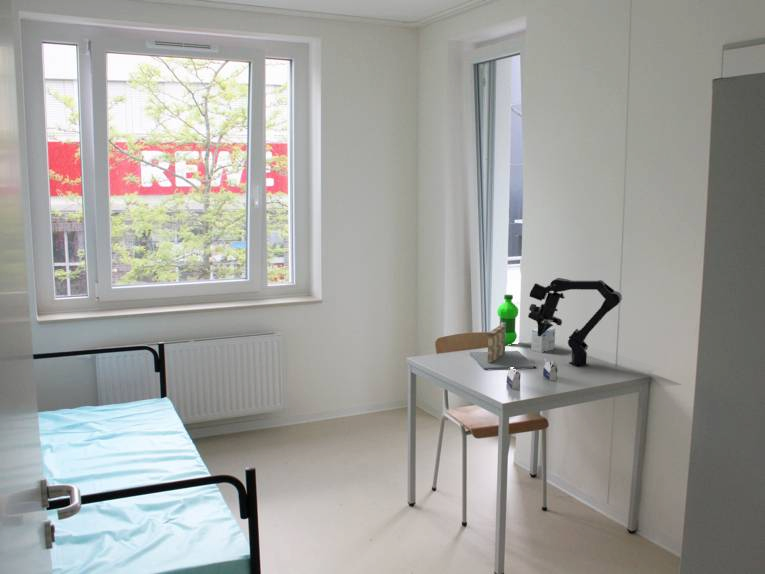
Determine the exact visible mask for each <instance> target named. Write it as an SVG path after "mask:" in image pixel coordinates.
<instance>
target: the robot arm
mask: <svg viewBox="0 0 765 574" xmlns="http://www.w3.org/2000/svg"><path fill="white" fill-rule="evenodd" d="M571 290H579V291H580V290H581V291H582V290H585V291H586V290H590V291H591V290H592V291H593V290H597V292H599V294H600V295H601V296H602V297H603V299H604V301H603V302H602V304H601V306H600V307H599V308H598V310H597V311H596V312H595V313H594V314H593V316H592V317H591V318H590V319H589V320H588V321H587V322H586V323H585V324H584V326H583V327H582V328H581V329H578V328H576V329H575V330H574V331H572V333H571V334H570V335H569V336H568V340H567V344H568V347H569V348H570V349H571V352H572V353H571V361H569V362H568V363H569V365H572V366H575V367H578V368H579V367H587V366H590V363H587V358H588V357H587V355H588V352H587V350H588V348H589V345H588V344H587V343H586V342H585V340H586V339H587V336H588V335H589V333H590V332H591V331H592V330H593V329H594V328H595V327H596V326H597V324H598V323H600V321H602V319H603V318H604V316H606V314H608V313H609V312H610V311H612V310H613V309H614V308H615V307H617V306H618V305H619V304H620V303H621V301H622V300H623V295H622V294H621V293H620V291H619V292H618V291H616V290H614V288H613V287H611V286H610V285H608V284H607V283H606V282H605V281H604V280H601V279H598V280H572V279H568V278H562V277H557V278H555V279H553V280H552V281H550V283H549V285H547V286H544V285H541V284H539V283H534V285H533V287H532V289H531V290H530V292H529V297H530V298H533V299H535V300H537V301H541V302H542V301H543V300H545V301H544V303H541V305H540V306H537V304H534V303H531V304H530V305H529V308H528V309H529V311H530V312H529V313H528V316H527V318H529V319H531V320H533V321H535V322H536V323H537V328H538V336H541V335H542V334H543V333H544V332H546V331H547V330H548V329H549V328H550V327H551V328H552V327H554V324H556V325H557V326H562V324H563V321H562V319H561V318H559V317H558V316H557V317H556V316H555V313H556V312H558V308H557V307H558V305H559V302H560V299H562V300H563V299H565V298H566V297H565V295H564V292H566V291H571ZM552 323H554V324H552Z"/></svg>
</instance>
